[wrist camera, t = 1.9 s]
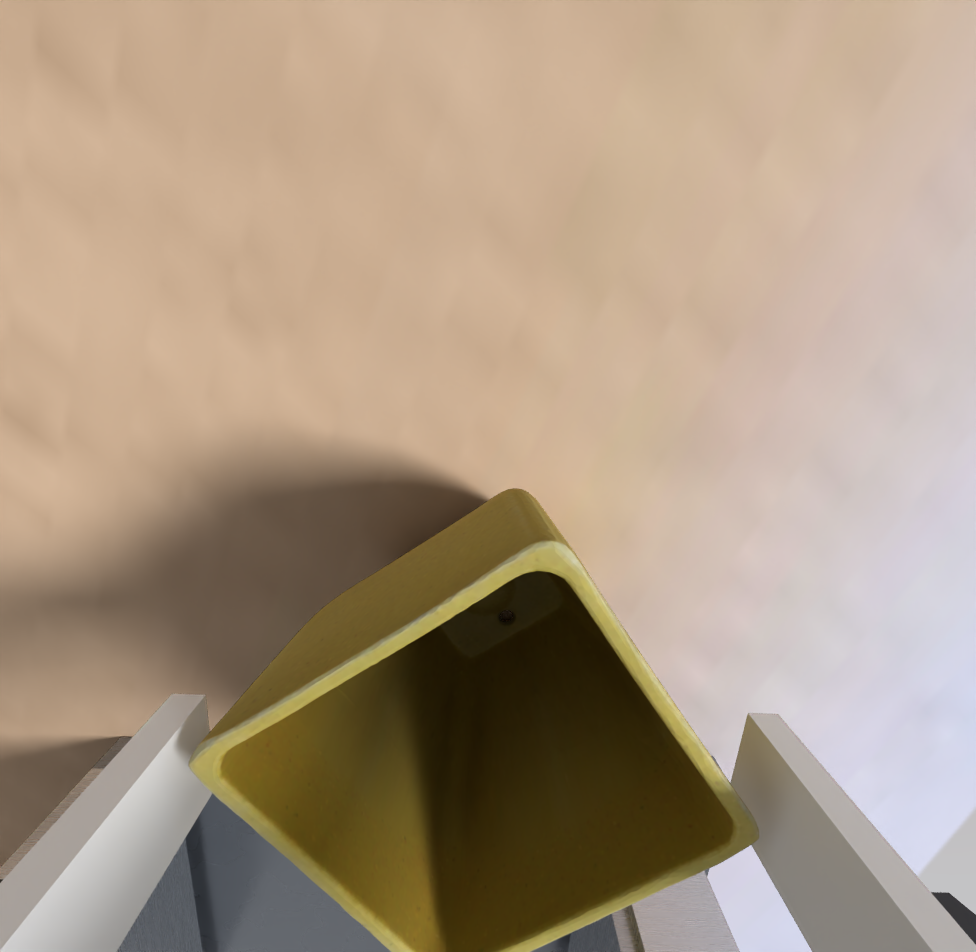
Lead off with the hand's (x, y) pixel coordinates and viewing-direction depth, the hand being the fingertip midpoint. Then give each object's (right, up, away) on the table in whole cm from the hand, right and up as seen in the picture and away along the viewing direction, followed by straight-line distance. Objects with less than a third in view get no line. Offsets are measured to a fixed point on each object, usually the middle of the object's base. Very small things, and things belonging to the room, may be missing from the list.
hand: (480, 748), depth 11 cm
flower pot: (0, +2, +7) cm, 7 cm away
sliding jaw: (+6, -15, +10) cm, 19 cm away
